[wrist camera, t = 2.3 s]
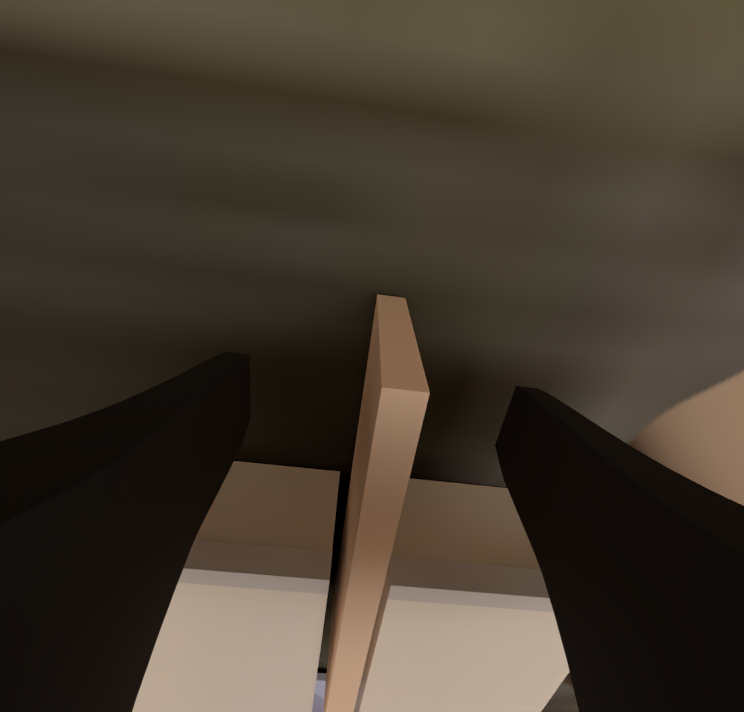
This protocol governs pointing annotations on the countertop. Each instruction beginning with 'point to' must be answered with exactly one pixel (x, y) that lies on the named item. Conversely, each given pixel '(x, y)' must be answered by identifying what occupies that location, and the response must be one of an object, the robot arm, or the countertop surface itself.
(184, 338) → the countertop surface
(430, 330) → the countertop surface
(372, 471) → the thin wooden plank
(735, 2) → the countertop surface
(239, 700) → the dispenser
